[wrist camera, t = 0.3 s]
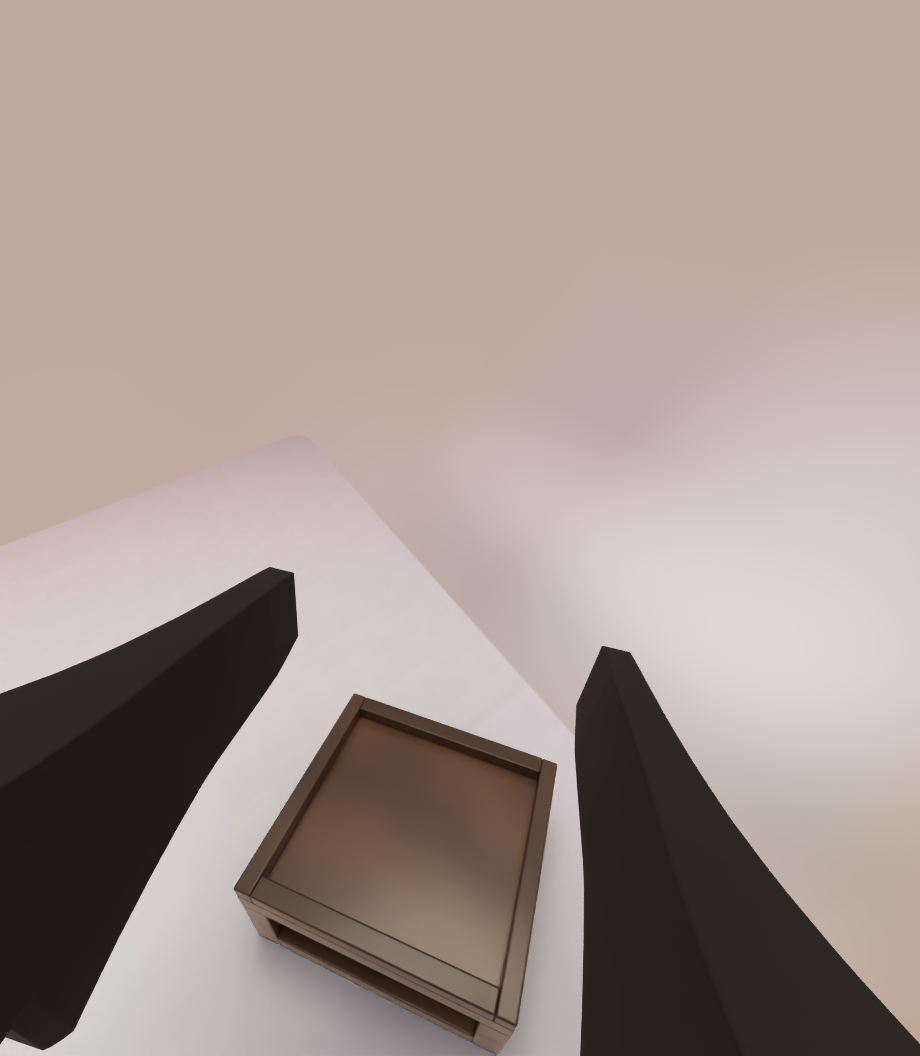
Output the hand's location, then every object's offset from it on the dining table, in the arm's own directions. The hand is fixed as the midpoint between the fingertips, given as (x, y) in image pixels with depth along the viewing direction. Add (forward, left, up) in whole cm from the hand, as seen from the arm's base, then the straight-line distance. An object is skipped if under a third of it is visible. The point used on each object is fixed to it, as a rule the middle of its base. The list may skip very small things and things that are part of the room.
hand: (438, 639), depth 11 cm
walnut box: (+2, +1, -21) cm, 21 cm away
